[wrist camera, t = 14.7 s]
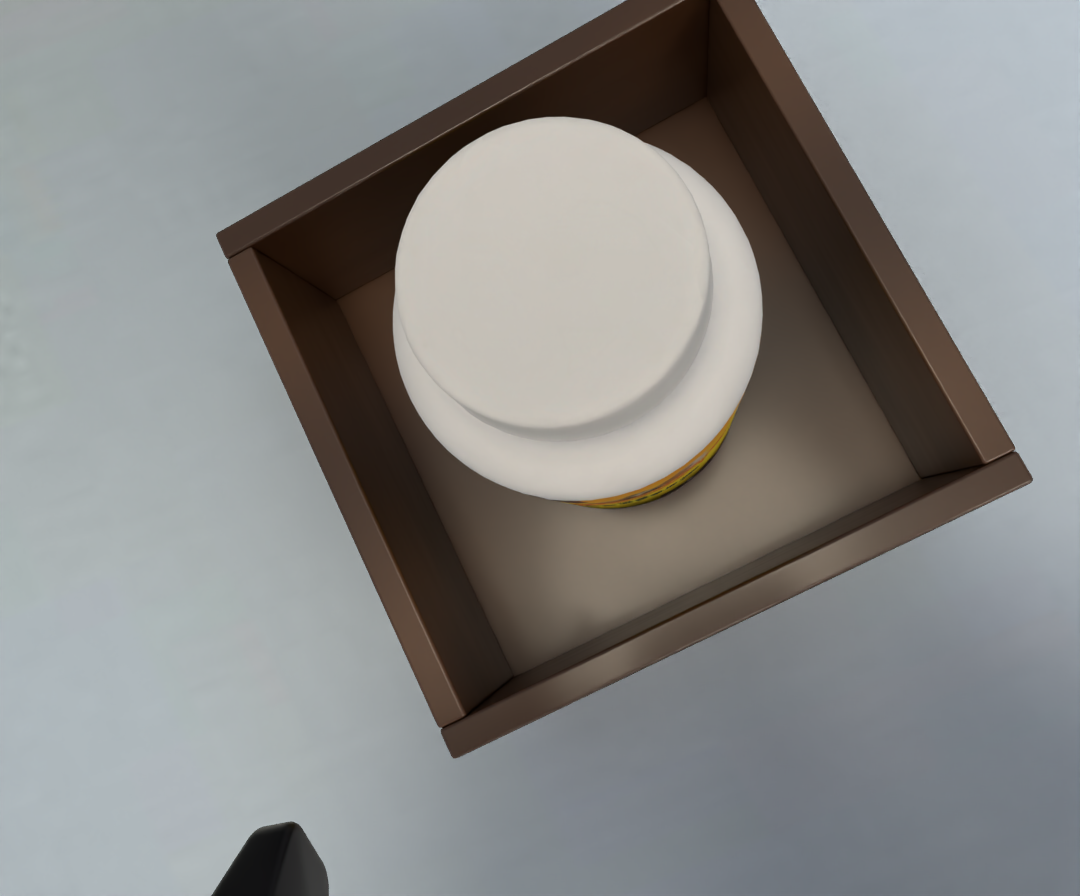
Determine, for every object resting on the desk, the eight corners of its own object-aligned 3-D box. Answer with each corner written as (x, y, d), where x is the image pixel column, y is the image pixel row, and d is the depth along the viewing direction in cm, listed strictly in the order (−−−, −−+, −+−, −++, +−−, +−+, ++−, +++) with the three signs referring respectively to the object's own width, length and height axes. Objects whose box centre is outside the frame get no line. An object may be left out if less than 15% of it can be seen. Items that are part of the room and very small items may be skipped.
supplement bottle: (487, 502, 22) (308, 480, 12) (505, 269, 22) (347, 50, 12) (731, 520, 21) (767, 510, 11) (744, 275, 21) (791, 43, 11)
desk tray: (950, 493, 21) (1035, 480, 15) (510, 706, 22) (452, 760, 17) (716, 80, 22) (722, -57, 17) (319, 298, 24) (213, 233, 18)
